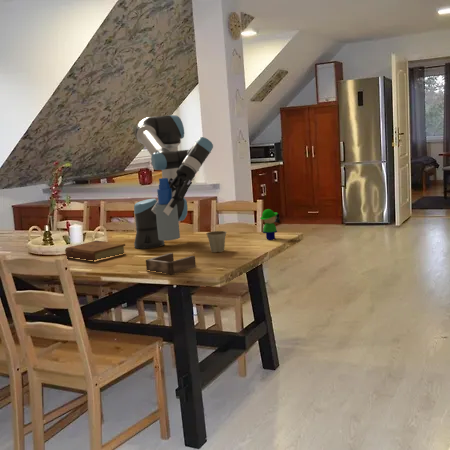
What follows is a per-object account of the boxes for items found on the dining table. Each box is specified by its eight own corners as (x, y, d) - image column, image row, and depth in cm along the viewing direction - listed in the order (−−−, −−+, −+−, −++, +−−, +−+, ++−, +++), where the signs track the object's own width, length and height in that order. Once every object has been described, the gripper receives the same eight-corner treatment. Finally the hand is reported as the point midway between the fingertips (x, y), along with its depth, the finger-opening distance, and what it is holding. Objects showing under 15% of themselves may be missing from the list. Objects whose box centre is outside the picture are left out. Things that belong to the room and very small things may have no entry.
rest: (146, 271, 250) (145, 259, 250) (171, 263, 261) (170, 252, 260) (171, 274, 240) (170, 263, 240) (195, 267, 250) (194, 255, 250)
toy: (282, 238, 296) (280, 208, 294) (266, 241, 293) (264, 211, 291) (274, 236, 304) (272, 207, 302) (258, 238, 301) (256, 209, 299)
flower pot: (230, 248, 283) (229, 230, 281) (224, 253, 274) (222, 234, 272) (211, 249, 286) (210, 231, 284) (204, 253, 277) (203, 234, 276)
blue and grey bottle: (158, 241, 244) (152, 180, 240) (158, 237, 253) (152, 178, 249) (180, 239, 245) (174, 178, 241) (179, 235, 254) (174, 176, 249)
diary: (66, 259, 292) (64, 247, 291) (97, 251, 306) (96, 240, 305) (94, 263, 277) (92, 251, 276) (126, 255, 290) (125, 243, 289)
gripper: (209, 175, 246) (180, 220, 239) (180, 174, 263) (152, 216, 255) (197, 163, 242) (167, 208, 235) (168, 164, 259) (140, 206, 251)
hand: (159, 212), depth 245 cm, fingers closed on blue and grey bottle, 8 cm apart
